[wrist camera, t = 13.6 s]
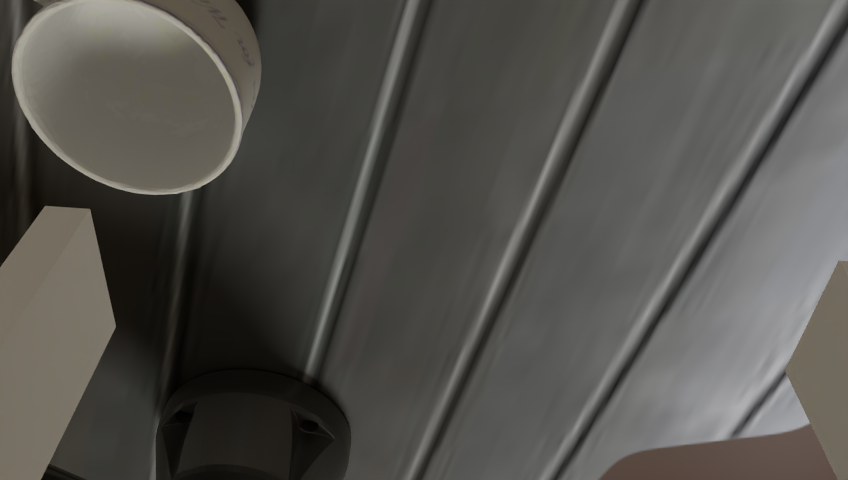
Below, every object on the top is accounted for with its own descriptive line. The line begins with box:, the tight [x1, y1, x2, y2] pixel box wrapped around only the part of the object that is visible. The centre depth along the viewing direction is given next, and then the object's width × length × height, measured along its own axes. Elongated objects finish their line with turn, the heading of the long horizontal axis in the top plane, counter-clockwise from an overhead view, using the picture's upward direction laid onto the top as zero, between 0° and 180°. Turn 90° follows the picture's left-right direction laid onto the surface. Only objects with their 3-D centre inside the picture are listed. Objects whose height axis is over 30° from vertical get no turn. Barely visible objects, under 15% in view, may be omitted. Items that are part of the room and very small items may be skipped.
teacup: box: [12, 0, 261, 195], centre depth 39 cm, size 14×11×8 cm
